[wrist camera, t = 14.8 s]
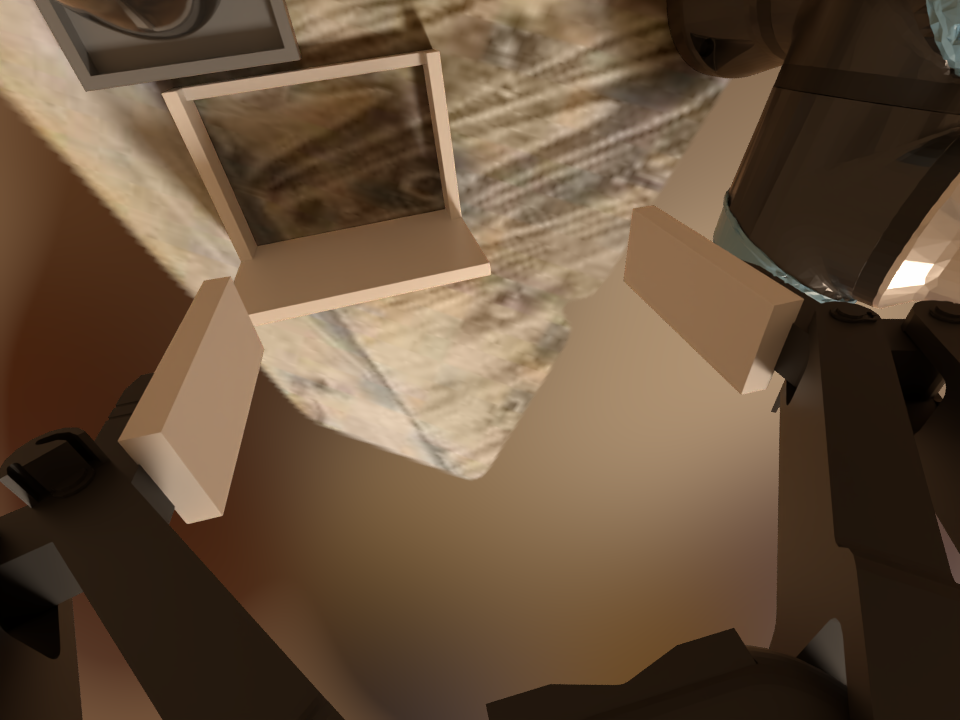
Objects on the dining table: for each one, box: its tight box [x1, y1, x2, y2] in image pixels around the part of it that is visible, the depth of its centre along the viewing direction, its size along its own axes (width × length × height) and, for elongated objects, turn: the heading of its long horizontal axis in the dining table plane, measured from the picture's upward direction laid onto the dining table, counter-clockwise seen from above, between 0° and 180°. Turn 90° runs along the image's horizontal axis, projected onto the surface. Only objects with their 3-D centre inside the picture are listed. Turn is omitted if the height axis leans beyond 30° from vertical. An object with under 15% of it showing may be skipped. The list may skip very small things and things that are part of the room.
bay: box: [161, 49, 491, 326], centre depth 35 cm, size 20×14×13 cm
